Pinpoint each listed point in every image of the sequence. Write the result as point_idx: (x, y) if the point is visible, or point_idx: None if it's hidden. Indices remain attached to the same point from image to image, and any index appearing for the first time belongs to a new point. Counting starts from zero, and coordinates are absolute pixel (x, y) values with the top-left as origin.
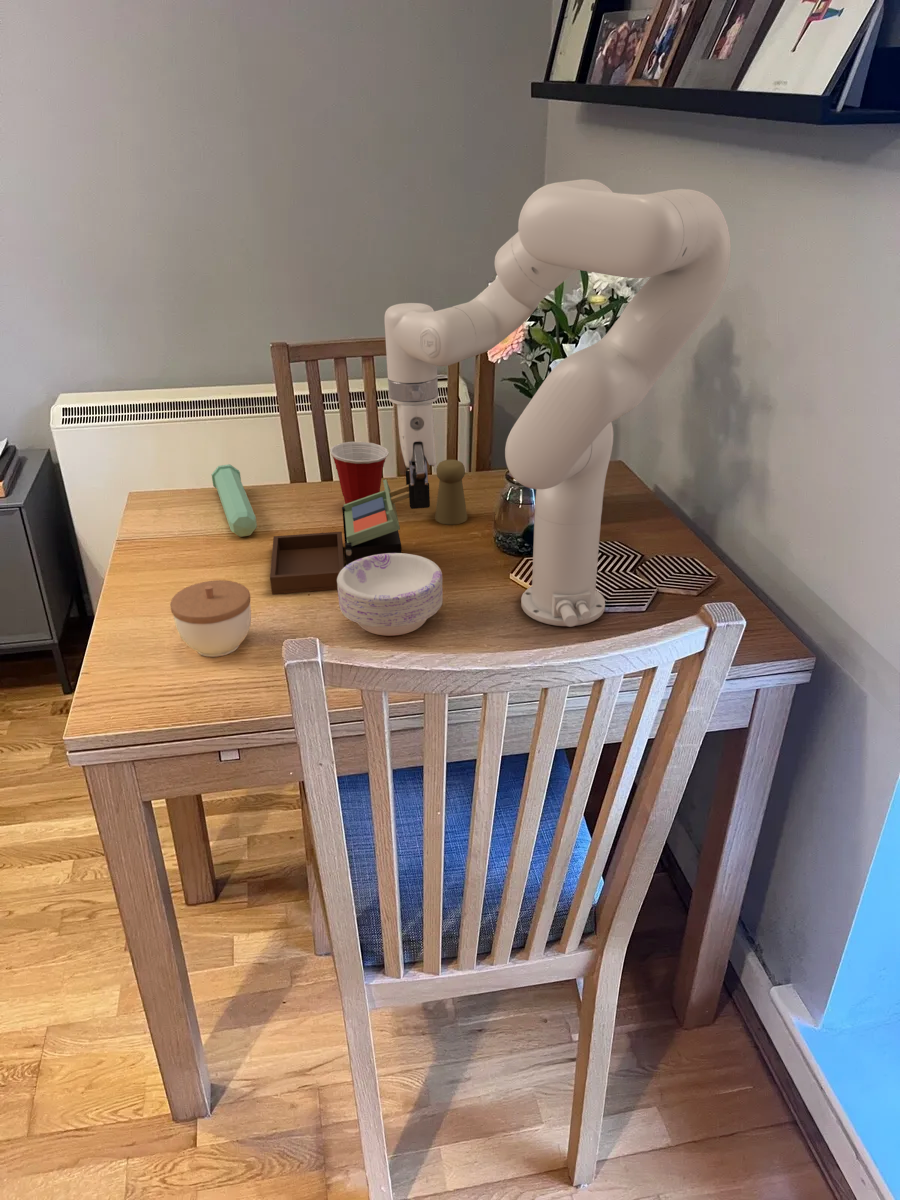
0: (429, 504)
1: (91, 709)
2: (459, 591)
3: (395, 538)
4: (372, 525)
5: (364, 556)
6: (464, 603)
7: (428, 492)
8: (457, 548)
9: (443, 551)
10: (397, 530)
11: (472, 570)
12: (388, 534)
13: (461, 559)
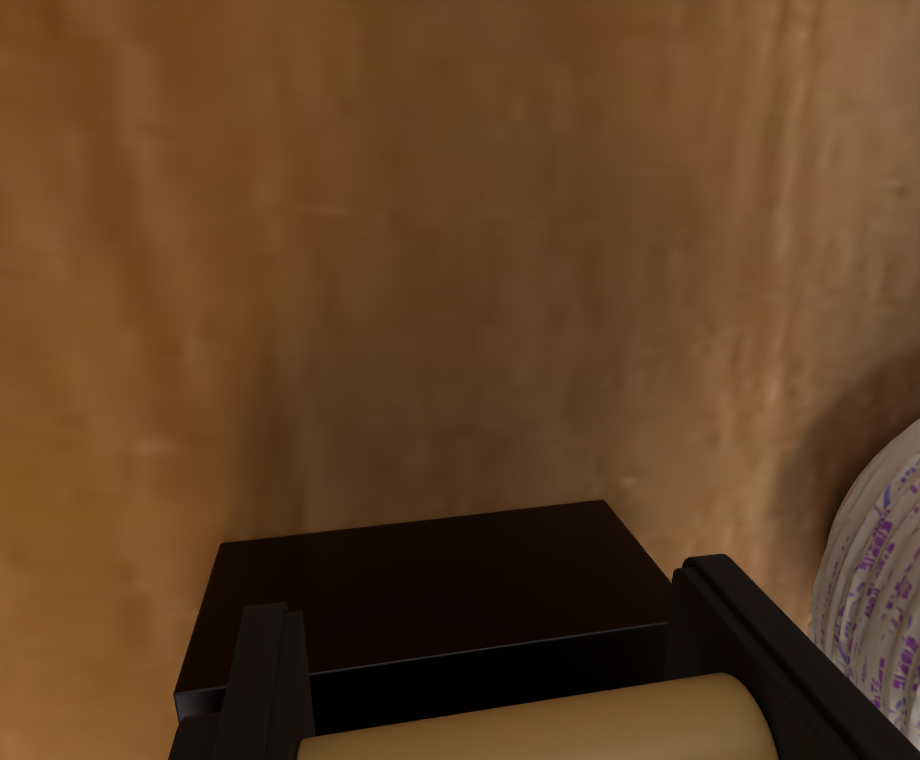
0: (734, 568)
1: None
2: (787, 223)
3: (612, 655)
4: None
5: None
6: (905, 210)
7: (833, 676)
8: (246, 174)
9: (287, 271)
10: (485, 652)
11: (570, 115)
12: (540, 700)
13: (414, 166)
